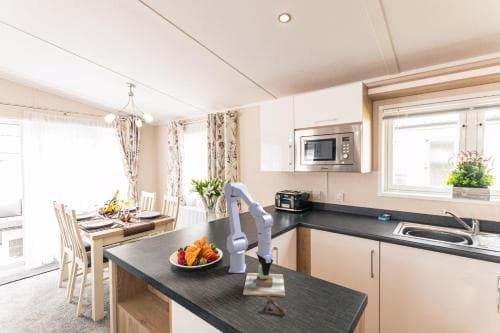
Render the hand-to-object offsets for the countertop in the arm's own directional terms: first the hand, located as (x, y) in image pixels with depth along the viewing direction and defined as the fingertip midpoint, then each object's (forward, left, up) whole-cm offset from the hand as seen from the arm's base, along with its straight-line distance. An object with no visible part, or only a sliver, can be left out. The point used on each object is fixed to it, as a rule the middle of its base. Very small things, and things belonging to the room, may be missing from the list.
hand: (264, 272), depth 106 cm
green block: (0, 0, -2) cm, 2 cm away
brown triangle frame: (+19, +4, -6) cm, 20 cm away
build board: (0, 0, -5) cm, 5 cm away
